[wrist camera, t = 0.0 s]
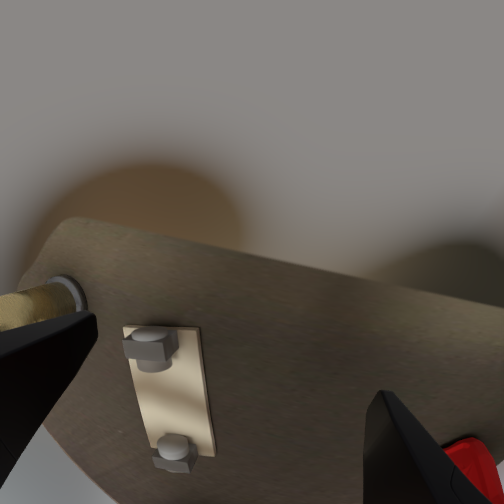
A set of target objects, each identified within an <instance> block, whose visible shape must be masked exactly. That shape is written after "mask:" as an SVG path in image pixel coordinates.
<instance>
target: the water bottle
mask: <svg viewBox="0 0 504 504" xmlns="http://www.w3.org/2000/svg"><path fill="white" fill-rule="evenodd" d="M443 450H444V451H445V453H446V454H447V455H448V456H449V457H450V458H451V460H452V461H453V462H454V463H455V464H454V465H457V467H458V468H459V469H460V470H461V471H462V472H463V474H464V475H465V476H466V477H467V478H468V479H469V480H470V481H471V483H472V484H473V485H474V486H475V487H476V488H477V489H478V490H479V491H480V492H481V493H482V494H483V495H484V496H485V497H487V498H488V499H489V500H490V501H491V502H492V503H493V504H504V493H503V489H502V485H501V482H500V478H499V475H498V471H497V468H496V465H495V461H494V459H493V457H492V456H491V454H490V453H489V451H488V449H487V448H486V446H485V445H484V443H483V442H481V441H479V440H478V439H475V438H473V437H471V438H467V439H463V440H460V441H458V442H456V443H454V444H453V445H451V446H449V447H447V448H444V449H443Z"/></svg>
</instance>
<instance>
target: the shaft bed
mask: <svg viewBox="0 0 504 504" xmlns="http://www.w3.org/2000/svg"><path fill="white" fill-rule="evenodd" d="M123 331H124V337H125V338H124V339H122V342H123V347H124V353H125V358H128V359H129V363H130V368H131V372H132V377H133V381H134V386H135V390H136V394H137V398H138V402H139V406H140V410H141V414H142V417H143V421H144V425H145V428H146V432H147V435H148V438H149V442H150V445H151V447H152V448H157V449H156V450H155V452H154V454H153V455H152V459H153V462H154V465H155V467H156V468H161V469H166V470H167V471H169V472H173V473H181V472H183V473H189V474H190V473H191V471H192V468H193V466H194V464H195V462H196V459H197V457H198V455H203V456H212V457H215V455H216V446H215V440H214V435H213V428H212V422H211V416H210V409H209V402H208V396H207V388H206V381H205V374H204V366H203V358H202V350H201V341H200V332H199V328H196V327H163V326H142V325H126V326H124V327H123Z"/></svg>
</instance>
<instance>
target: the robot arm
mask: <svg viewBox="0 0 504 504" xmlns="http://www.w3.org/2000/svg"><path fill="white" fill-rule="evenodd" d="M97 338H98V328H97V319H96V316H95V314H94V313H92V312H89V311H87V310H82V311H78V312H74V313H71V314H67V315H63V316H59V317H55V318H51V319H48V320H44V321H40V322H36V323H32V324H28V325H24V326H21V327H17V328H13V329H9V330H5V331H1V332H0V489H1V487H2V485H3V484H4V482H5V480H6V479H7V477H8V475H9V473H10V472H11V470H12V469H13V467H14V466H15V464H16V462H17V460H18V459H19V457H20V456H21V454H22V453H23V451H24V449H25V448H26V446H27V445H28V443H29V442H30V440H31V439H32V437H33V436H34V434H35V433H36V431H37V430H38V428H39V427H40V425H41V424H42V422H43V421H44V420H45V418H46V417H47V415H48V414H49V412H50V411H51V409H52V408H53V407H54V405H55V404H56V402H57V401H58V400H59V398H60V397H61V395H62V394H63V393H64V391H65V390H66V388H67V387H68V386H69V384H70V383H71V382H72V380H73V379H74V377H75V376H76V374H77V373H78V371H79V370H80V368H81V366H82V365H83V363H84V361H85V359H86V358H87V356H88V354H89V353H90V351H91V349H92V348H93V346H94V344H95V343H96V341H97ZM454 464H455V463H454V462H453V461H452V460H451V458H450V457H449V456H448V455H447V454H446V453H445V451H444V450H443V449H442V448H441V447H440V446H439V444H438V443H437V442H436V441H435V440H434V439H433V437H432V436H431V435H430V434H429V433H428V432H427V430H426V429H425V428H424V427H423V426H422V425H421V423H420V422H419V421H418V420H417V419H416V418H415V416H414V415H413V414H412V413H411V412H410V411H409V410H408V408H407V407H406V406H405V405H404V404H403V403H402V401H401V400H400V399H399V398H398V397H397V396H396V395H395V393H394V392H392V391H389V390H379V391H378V392H377V394H376V396H375V397H374V399H373V400H372V402H371V404H370V405H369V407H368V409H367V413H366V427H365V440H364V452H363V504H493V503H492V502H491V501H490V500H489V499H488V498H487V497H485V496H484V495H483V494H482V493H481V492H480V491H479V490H478V489H477V488H476V487H475V486H474V485H473V484H472V483H471V481H470V480H469V479H468V478H467V477H466V476H465V475H464V474H463V472H462V471H461V470H460V469H459V468H458V467H457V465H454Z"/></svg>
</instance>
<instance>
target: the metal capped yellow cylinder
mask: <svg viewBox="0 0 504 504" xmlns="http://www.w3.org/2000/svg"><path fill="white" fill-rule="evenodd" d="M82 310H87V301H86V297H85V294H84V292H83V290H82V288H81V286H80V285H79V283H78V282H77V281H76V280H75V279H73V278H72V277H70V276H68V275H60V276H56V277H52V278H50V279H49V280H48V281H47V282H46V283H45V285H41V286H37V287H33V288H29V289H25V290H22V291H18V292H14V293H10V294H7V295H3V296H0V332H1V331H5V330H9V329H13V328H17V327H21V326H24V325H28V324H32V323H36V322H40V321H44V320H48V319H51V318H55V317H59V316H63V315H67V314H71V313H74V312H78V311H82Z"/></svg>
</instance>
